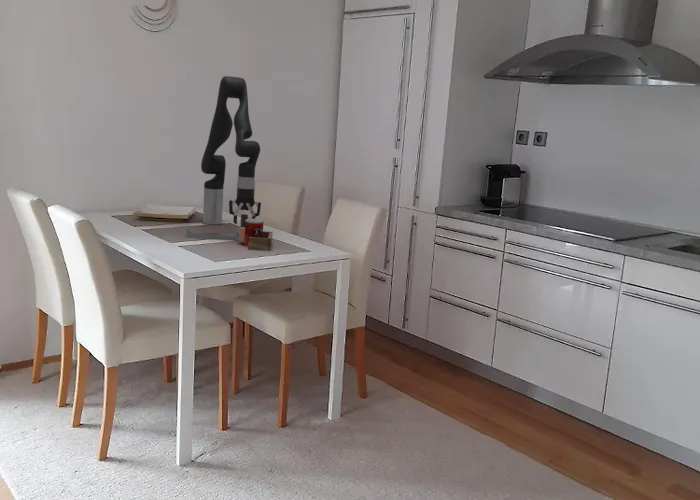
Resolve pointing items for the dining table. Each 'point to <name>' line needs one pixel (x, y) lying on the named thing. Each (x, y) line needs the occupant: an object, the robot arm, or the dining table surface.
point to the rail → (210, 235)
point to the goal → (261, 242)
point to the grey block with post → (241, 229)
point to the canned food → (253, 229)
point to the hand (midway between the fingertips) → (244, 224)
